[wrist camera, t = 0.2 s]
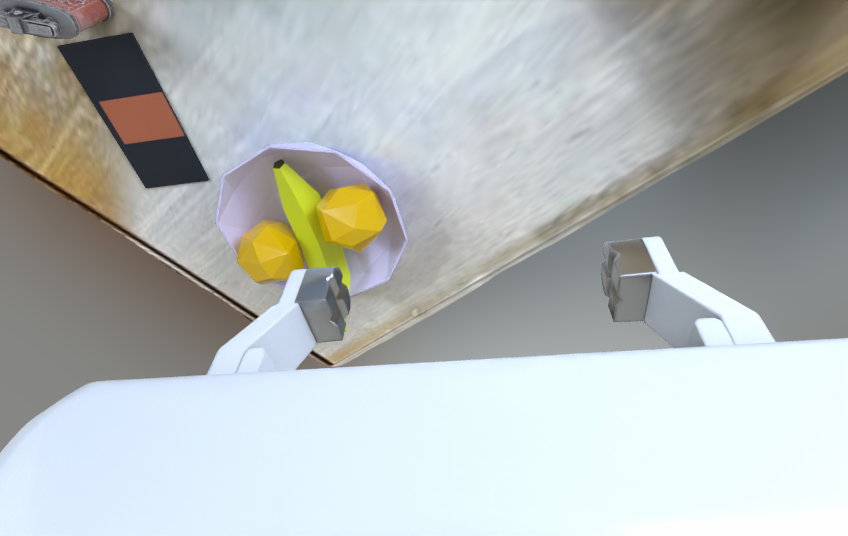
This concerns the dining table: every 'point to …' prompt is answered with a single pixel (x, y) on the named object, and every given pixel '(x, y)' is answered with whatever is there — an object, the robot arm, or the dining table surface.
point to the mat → (134, 109)
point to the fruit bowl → (310, 216)
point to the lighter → (53, 16)
